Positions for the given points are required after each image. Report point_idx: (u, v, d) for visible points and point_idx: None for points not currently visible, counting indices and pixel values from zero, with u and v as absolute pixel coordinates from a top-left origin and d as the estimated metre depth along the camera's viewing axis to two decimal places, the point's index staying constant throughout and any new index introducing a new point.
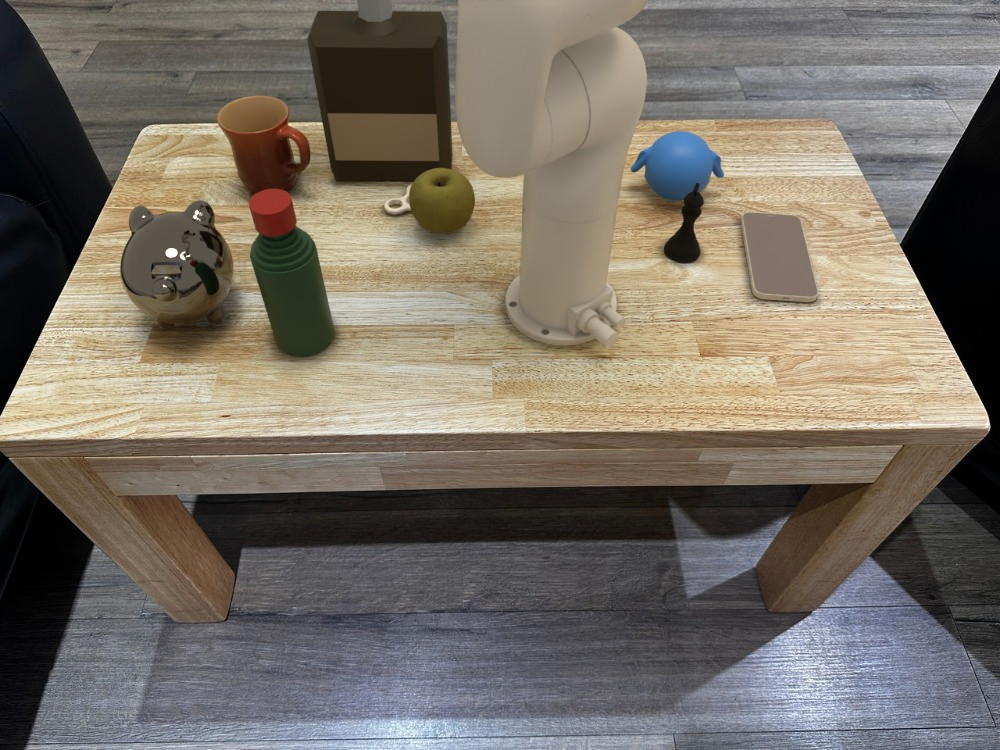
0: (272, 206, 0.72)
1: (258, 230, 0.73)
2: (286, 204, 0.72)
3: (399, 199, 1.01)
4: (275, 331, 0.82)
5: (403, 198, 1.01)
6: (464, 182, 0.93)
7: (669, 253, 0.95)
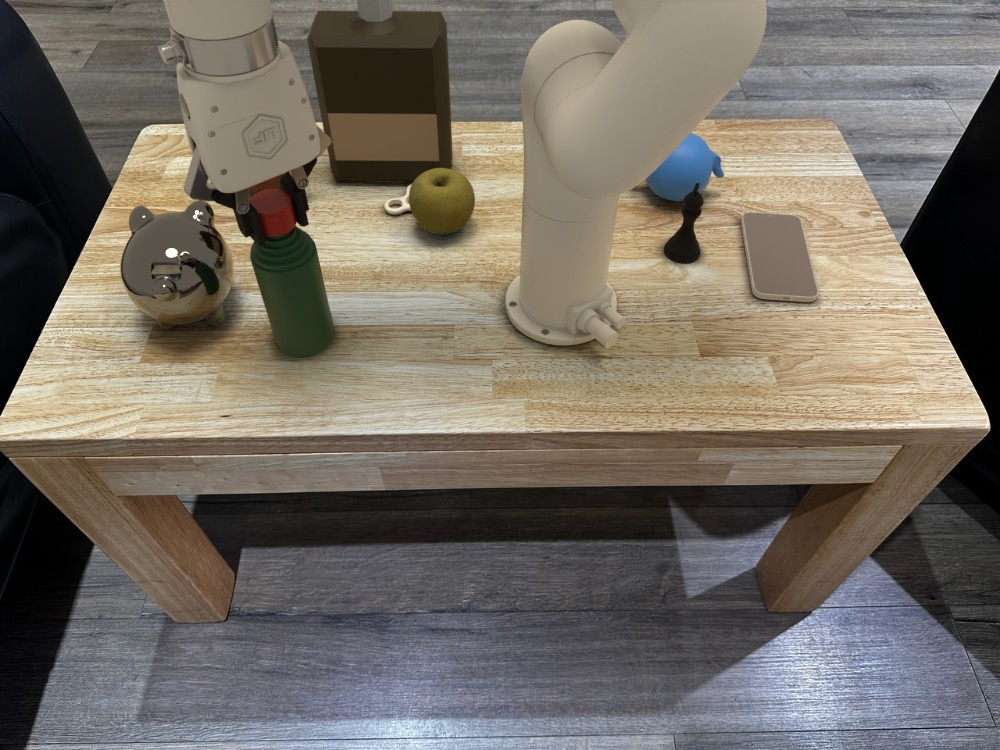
0: (272, 206, 0.72)
1: None
2: (286, 204, 0.72)
3: (399, 199, 1.01)
4: (275, 331, 0.82)
5: (403, 198, 1.01)
6: (464, 182, 0.93)
7: (669, 253, 0.95)
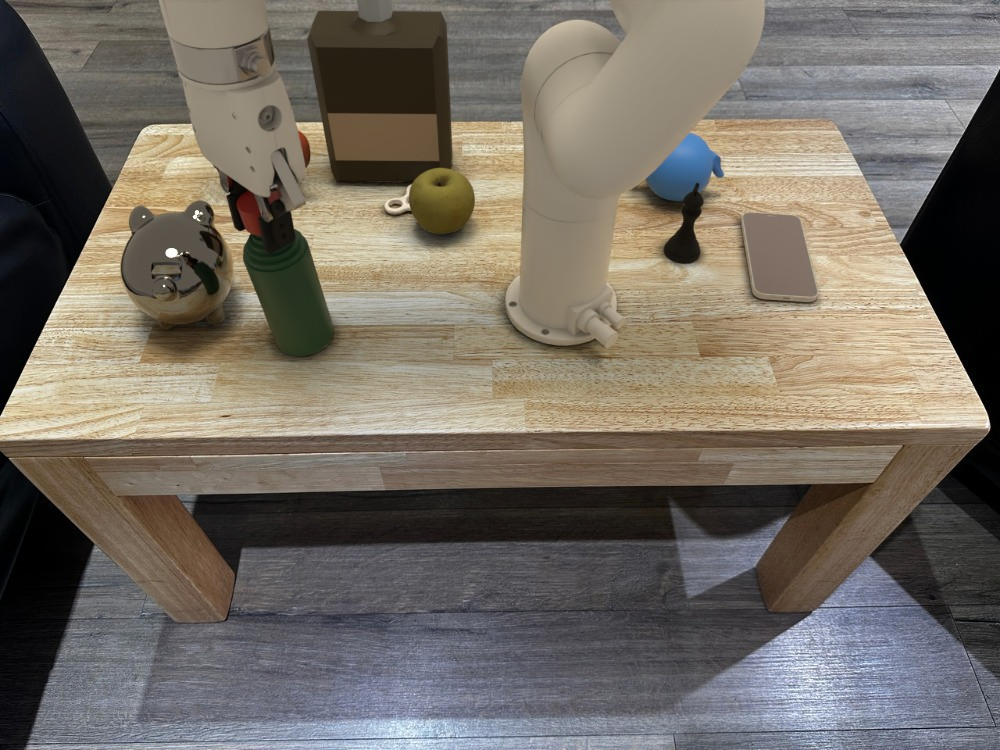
0: None
1: None
2: None
3: (399, 199, 1.01)
4: (273, 331, 0.82)
5: (403, 198, 1.01)
6: (463, 182, 0.93)
7: (669, 253, 0.95)
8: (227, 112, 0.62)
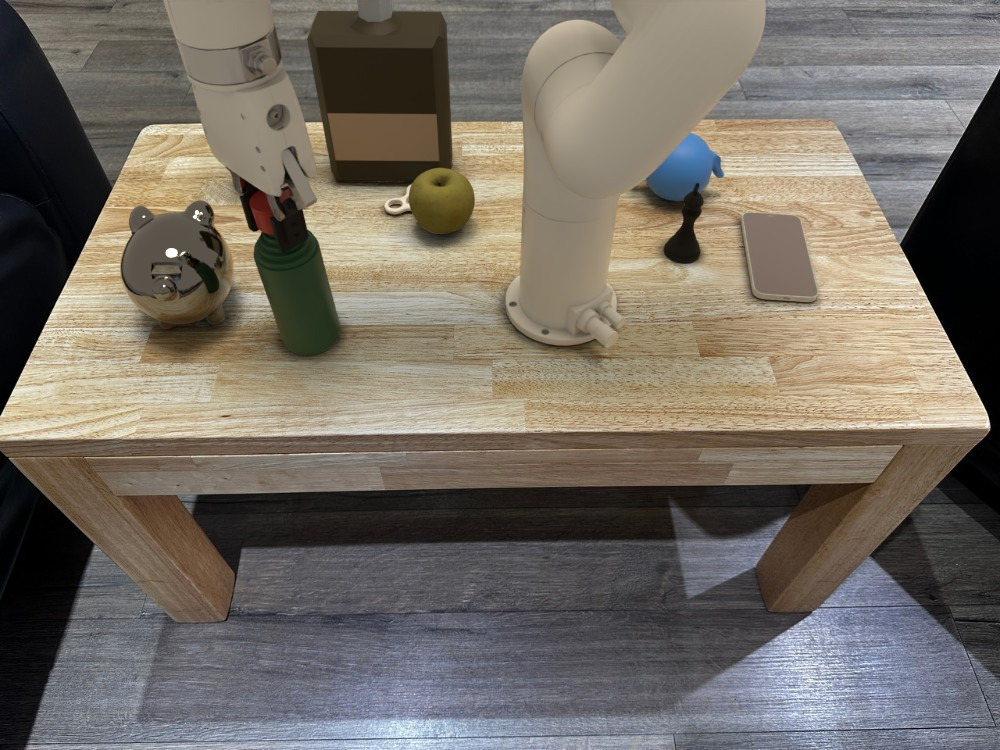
0: None
1: None
2: None
3: (399, 199, 1.01)
4: (281, 330, 0.82)
5: (403, 198, 1.01)
6: (463, 182, 0.93)
7: (669, 253, 0.95)
8: (236, 112, 0.62)
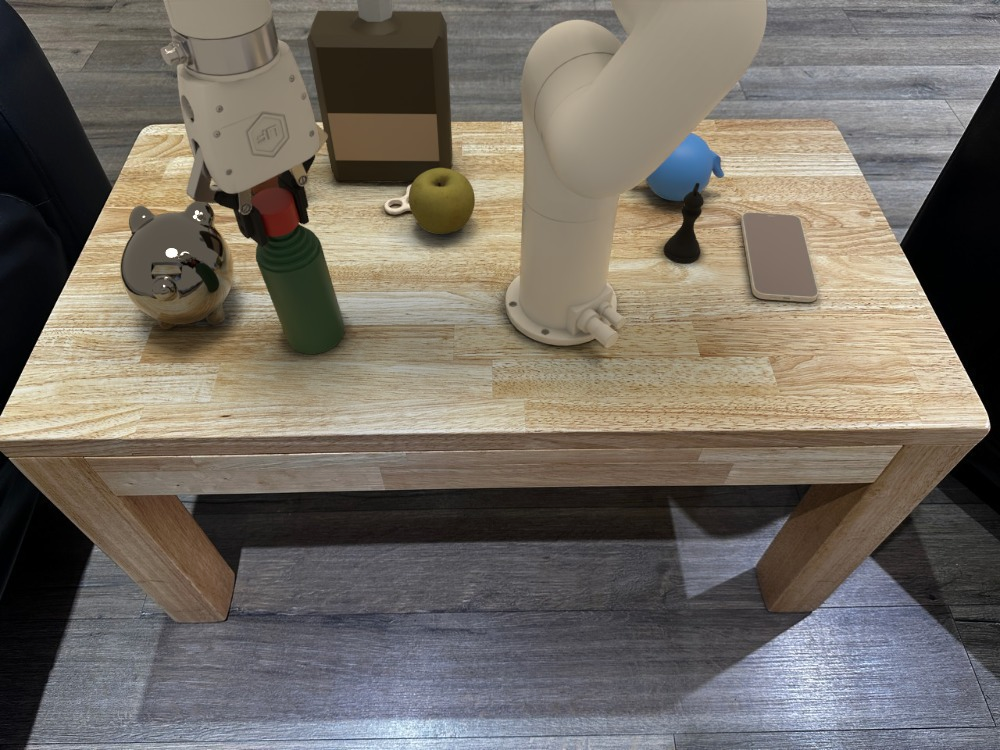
0: (279, 196, 0.72)
1: (294, 225, 0.73)
2: (275, 189, 0.73)
3: (399, 199, 1.01)
4: (285, 329, 0.82)
5: (403, 198, 1.01)
6: (463, 182, 0.93)
7: (669, 253, 0.95)
8: None
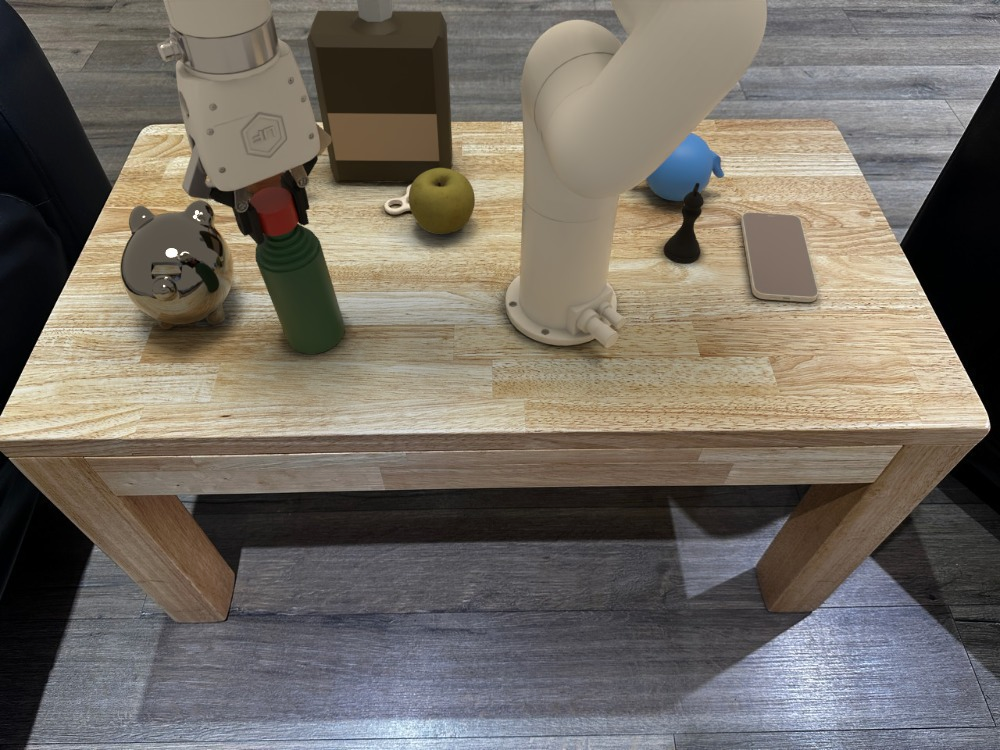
0: (265, 196, 0.72)
1: None
2: (252, 201, 0.72)
3: (399, 199, 1.01)
4: (285, 329, 0.82)
5: (403, 198, 1.01)
6: (463, 182, 0.93)
7: (669, 253, 0.95)
8: None
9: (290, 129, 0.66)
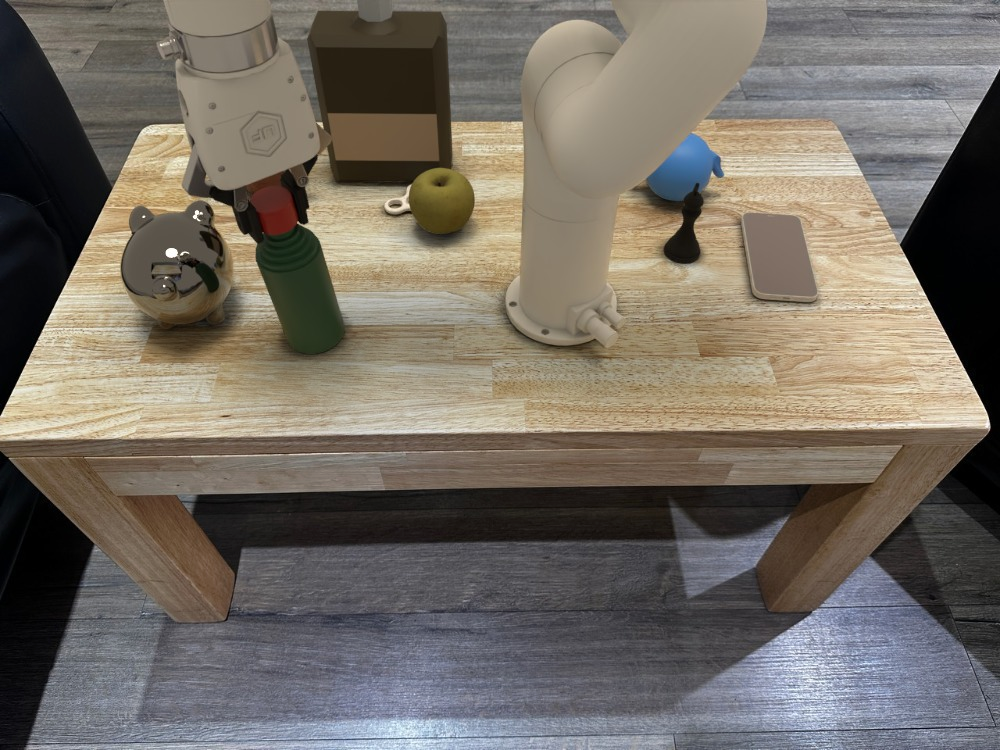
0: (263, 204, 0.72)
1: None
2: (270, 210, 0.71)
3: (399, 199, 1.01)
4: (285, 329, 0.82)
5: (403, 198, 1.01)
6: (463, 182, 0.93)
7: (669, 253, 0.95)
8: None
9: (290, 128, 0.66)
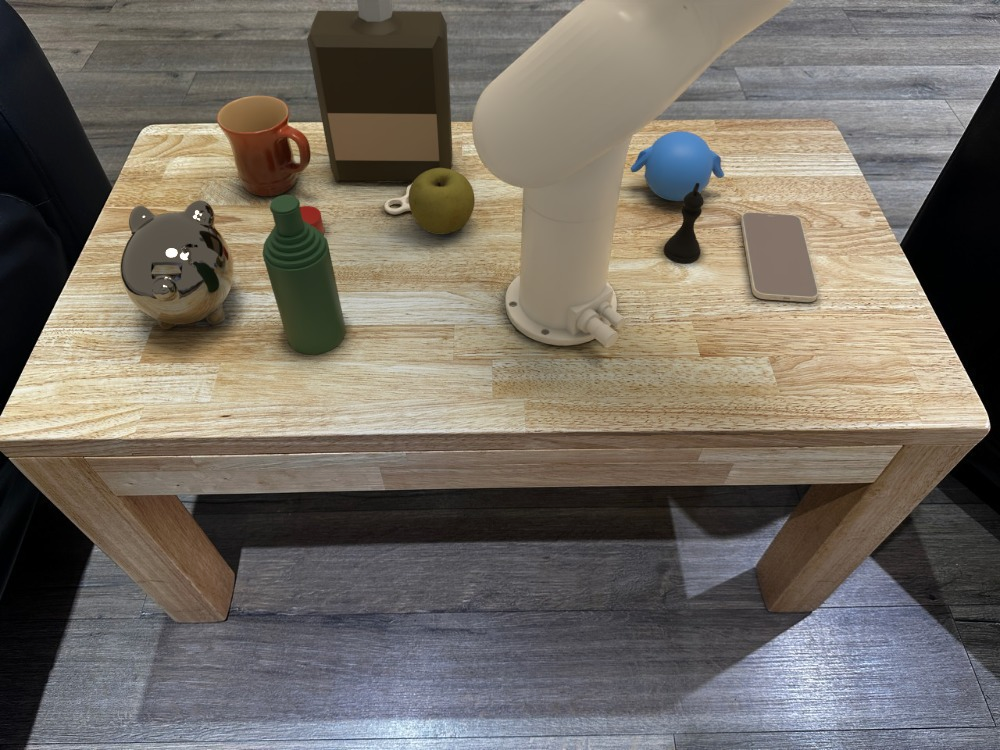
0: (309, 212, 0.96)
1: (322, 232, 0.97)
2: (303, 207, 0.97)
3: (399, 199, 1.01)
4: (287, 328, 0.83)
5: (403, 198, 1.01)
6: (463, 182, 0.93)
7: (669, 253, 0.95)
8: None
9: None
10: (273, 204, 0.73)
